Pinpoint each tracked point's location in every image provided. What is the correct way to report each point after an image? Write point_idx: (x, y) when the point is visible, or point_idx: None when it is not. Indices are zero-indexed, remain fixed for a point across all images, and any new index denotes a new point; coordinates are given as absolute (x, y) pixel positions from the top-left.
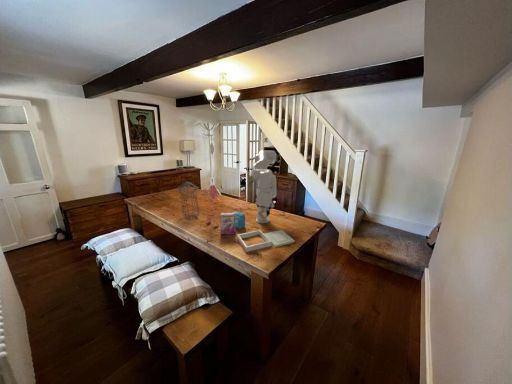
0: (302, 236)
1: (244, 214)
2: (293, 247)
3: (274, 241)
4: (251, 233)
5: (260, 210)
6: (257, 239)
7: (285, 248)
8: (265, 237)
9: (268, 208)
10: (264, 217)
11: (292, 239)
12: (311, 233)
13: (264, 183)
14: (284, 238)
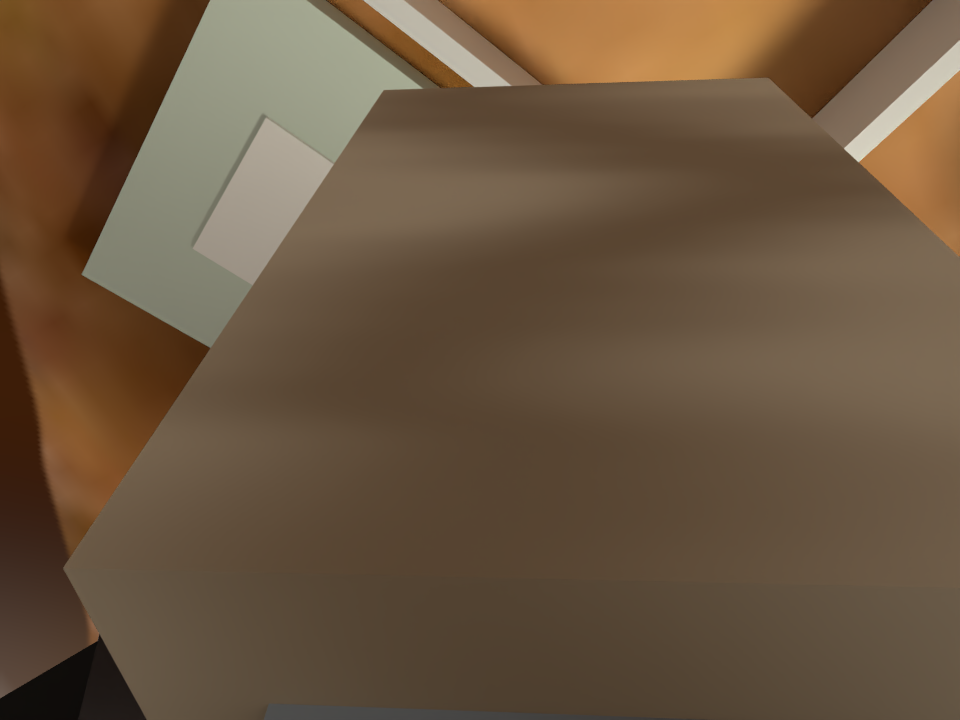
0: (114, 442)
1: None
2: (9, 110)
3: (323, 82)
4: (865, 109)
5: (772, 307)
6: (682, 40)
7: (82, 7)
8: (511, 81)
9: (98, 717)
10: (405, 116)
11: (123, 288)
12: (77, 538)
13: None
14: (233, 256)
